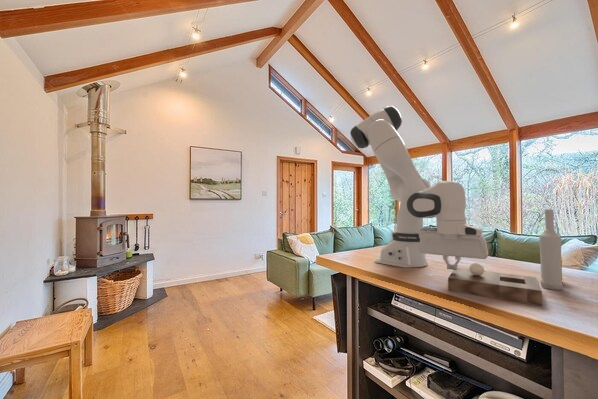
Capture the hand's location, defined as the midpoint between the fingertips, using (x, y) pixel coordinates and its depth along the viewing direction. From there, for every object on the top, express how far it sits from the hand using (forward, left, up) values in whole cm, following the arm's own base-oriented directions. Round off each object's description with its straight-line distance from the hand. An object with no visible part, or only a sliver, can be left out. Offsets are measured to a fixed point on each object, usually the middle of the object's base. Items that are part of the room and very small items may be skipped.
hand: (452, 269), depth 91 cm
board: (+11, 0, -5) cm, 12 cm away
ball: (+7, 0, +1) cm, 7 cm away
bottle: (+26, +14, -5) cm, 30 cm away
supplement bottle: (+27, +24, -5) cm, 36 cm away
